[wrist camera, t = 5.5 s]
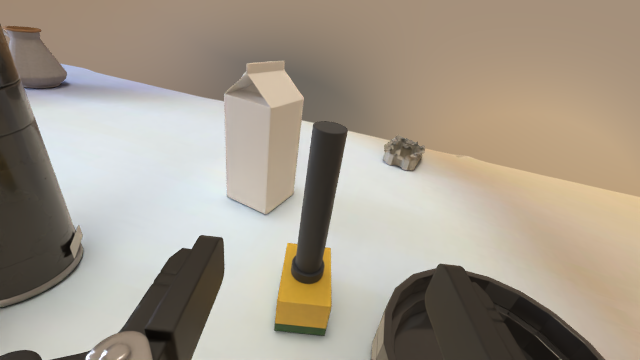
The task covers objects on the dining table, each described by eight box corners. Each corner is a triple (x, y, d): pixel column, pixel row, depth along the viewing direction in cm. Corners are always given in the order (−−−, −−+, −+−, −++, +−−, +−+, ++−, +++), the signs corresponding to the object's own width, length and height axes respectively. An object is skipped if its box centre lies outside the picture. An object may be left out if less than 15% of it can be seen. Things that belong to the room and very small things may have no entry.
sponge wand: (324, 336, 25) (369, 151, 17) (274, 330, 25) (292, 141, 16) (325, 274, 32) (357, 116, 23) (284, 270, 31) (302, 108, 23)
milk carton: (293, 194, 45) (307, 66, 36) (265, 216, 39) (273, 70, 30) (257, 179, 47) (262, 55, 38) (226, 197, 42) (222, 57, 32)
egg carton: (411, 174, 57) (417, 155, 55) (377, 161, 60) (381, 143, 58) (424, 158, 66) (430, 141, 64) (393, 147, 69) (398, 131, 67)
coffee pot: (81, 85, 77) (64, 22, 70) (33, 92, 67) (7, 20, 60) (19, 70, 81) (-2, 9, 73) (-35, 76, 71) (-66, 6, 64)
